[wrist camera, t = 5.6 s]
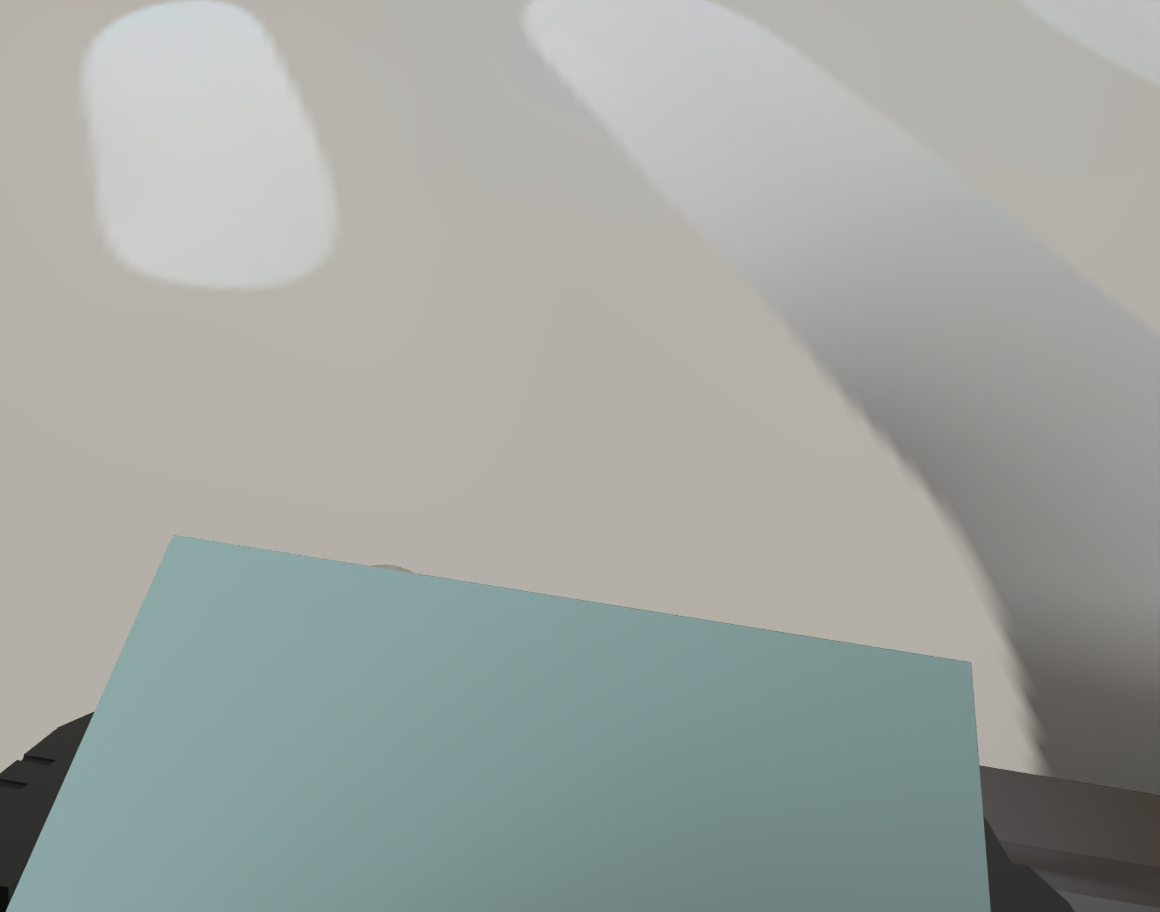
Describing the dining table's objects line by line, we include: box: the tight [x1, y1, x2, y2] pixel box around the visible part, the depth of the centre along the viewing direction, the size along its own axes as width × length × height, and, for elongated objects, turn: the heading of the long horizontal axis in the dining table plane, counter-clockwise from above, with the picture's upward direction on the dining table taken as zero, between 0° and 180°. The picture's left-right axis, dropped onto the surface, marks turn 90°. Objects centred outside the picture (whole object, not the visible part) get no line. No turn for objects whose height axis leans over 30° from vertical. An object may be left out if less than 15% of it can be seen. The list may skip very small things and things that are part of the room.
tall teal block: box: [6, 535, 991, 912], centre depth 10 cm, size 5×3×12 cm
